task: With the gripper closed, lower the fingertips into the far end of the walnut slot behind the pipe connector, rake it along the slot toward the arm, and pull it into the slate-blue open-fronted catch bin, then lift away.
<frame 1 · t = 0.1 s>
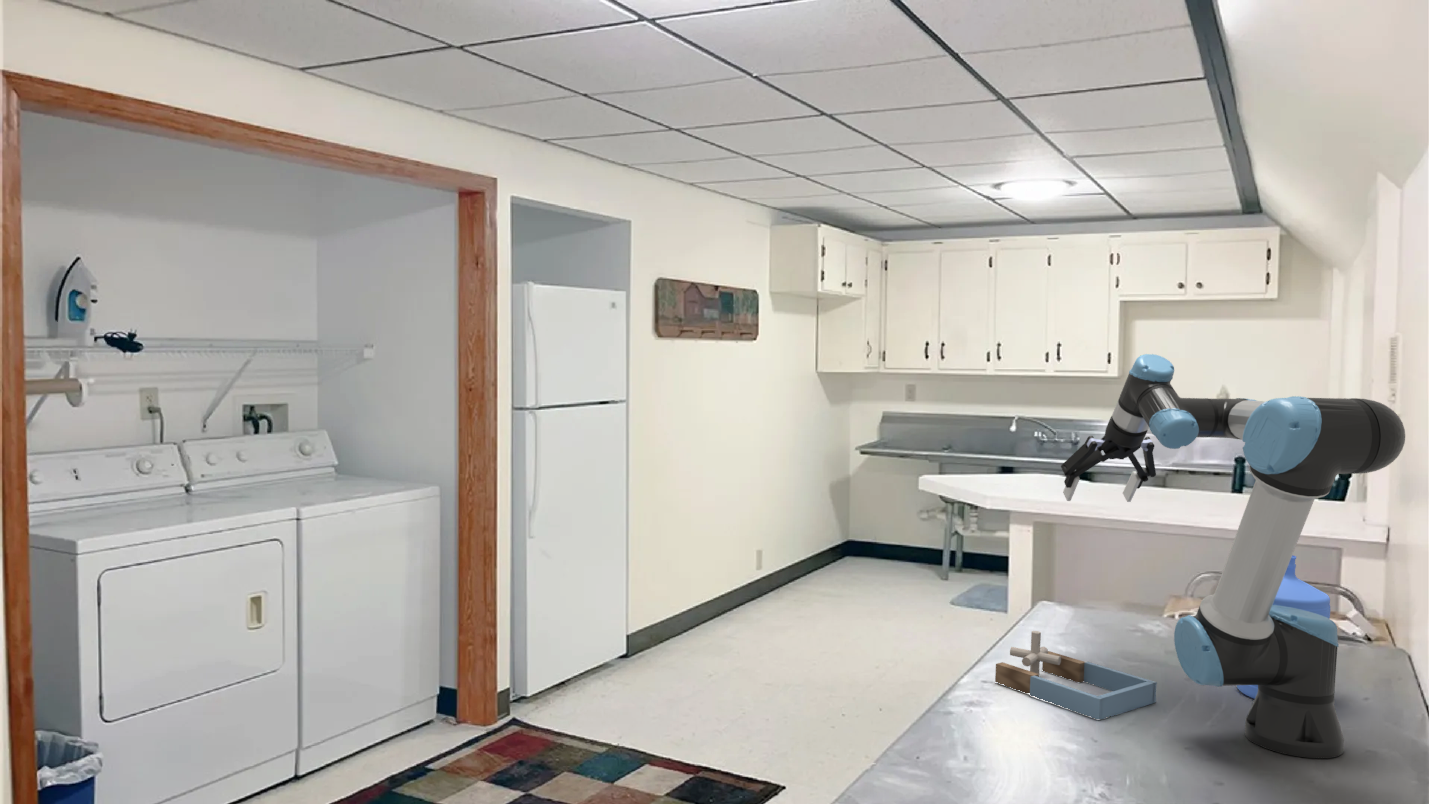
hand: (1096, 497, 225), 36 cm above the table, tool tilted 35°, fingers open, 13 cm apart
pipe connector: (1034, 681, 212), on the table
water jug: (1279, 696, 207), on the table
catch bin: (1089, 698, 202), on the table
slot rails: (1040, 682, 211), on the table
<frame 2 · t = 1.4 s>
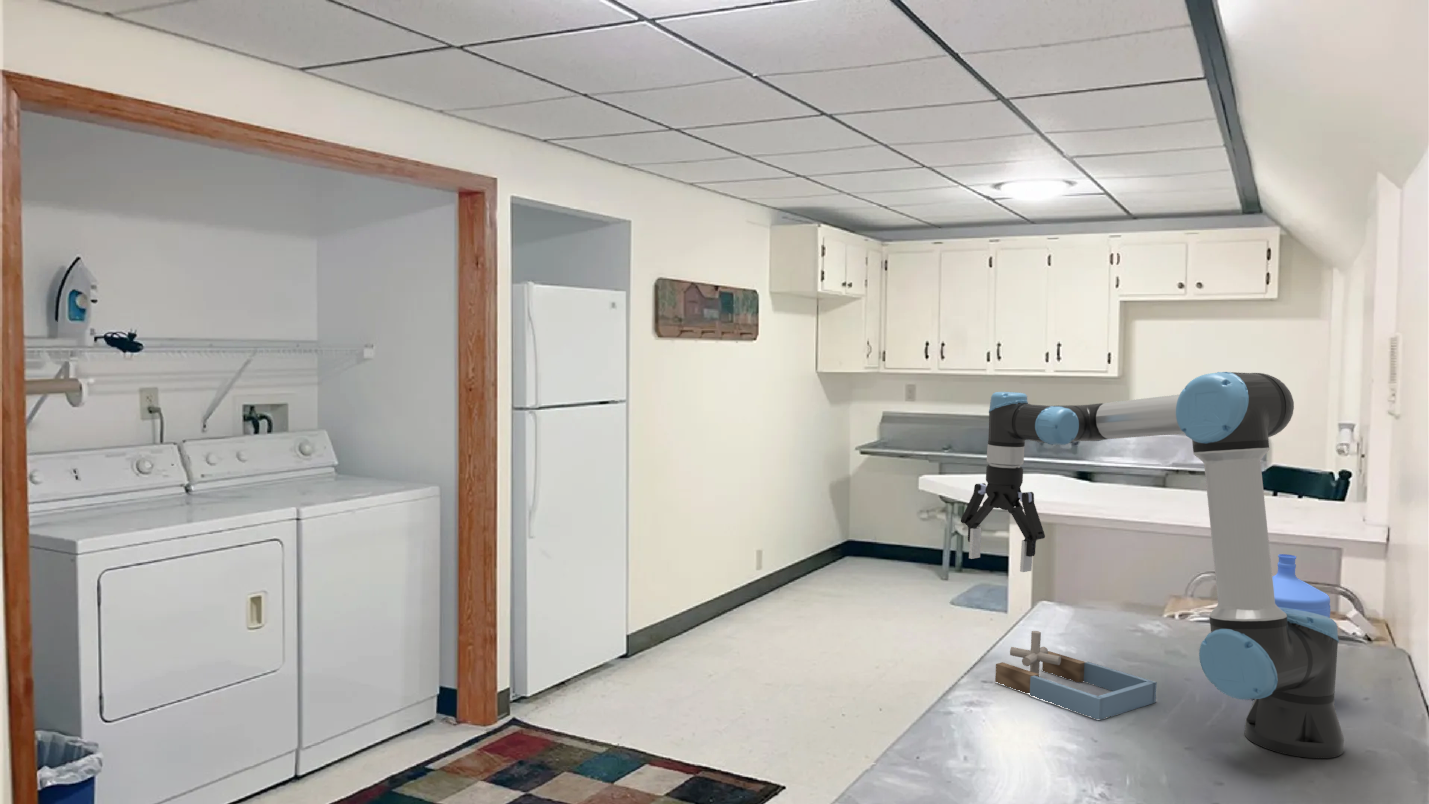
hand: (999, 564, 221), 22 cm above the table, tool pointing down, fingers open, 13 cm apart
nothing on the table moved.
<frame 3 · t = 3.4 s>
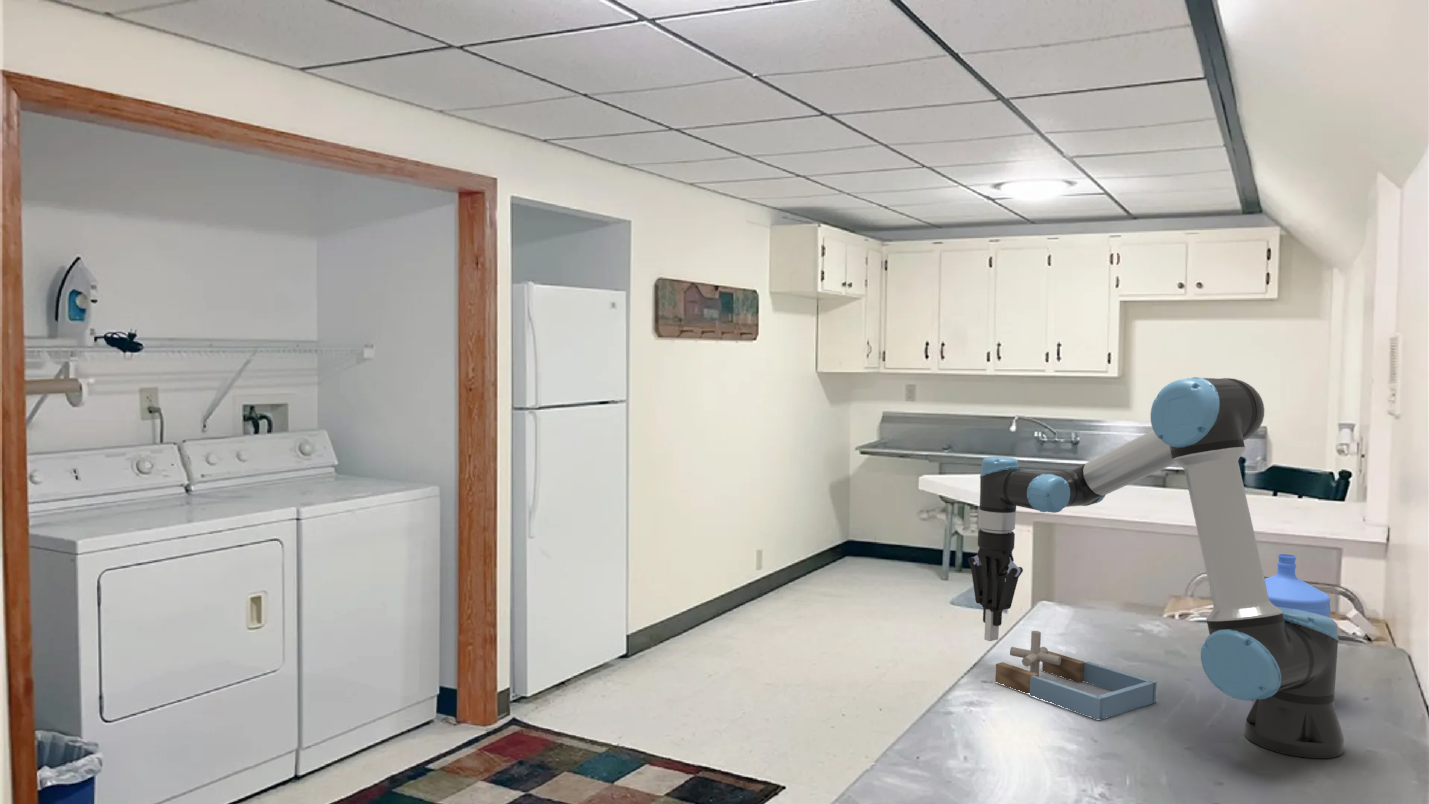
hand: (991, 639, 221), 6 cm above the table, tool pointing down, fingers closed
nothing on the table moved.
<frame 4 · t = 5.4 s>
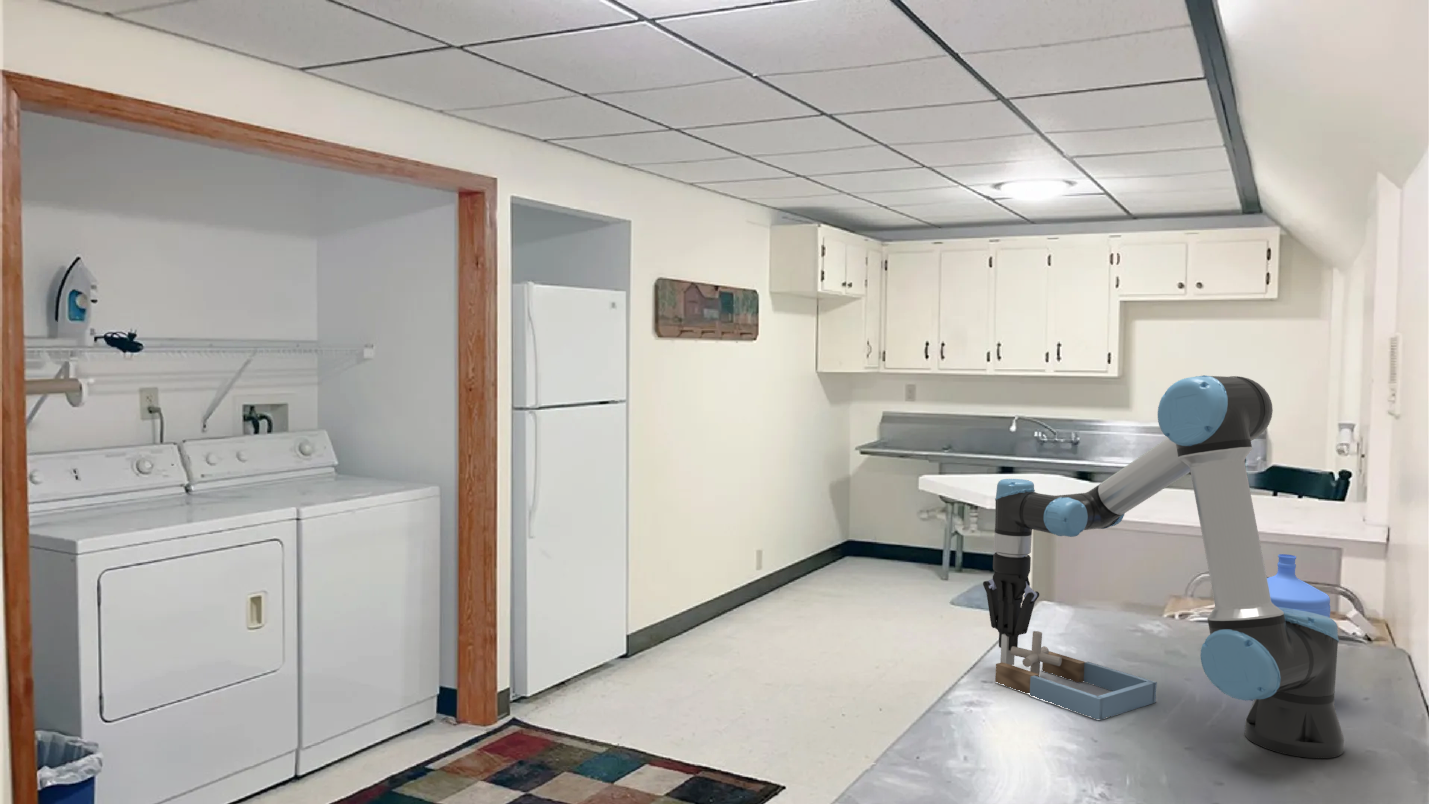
hand: (1007, 664, 218), 1 cm above the table, tool pointing down, fingers closed
pipe connector: (1034, 681, 212), on the table, touching gripper
everything else where it was.
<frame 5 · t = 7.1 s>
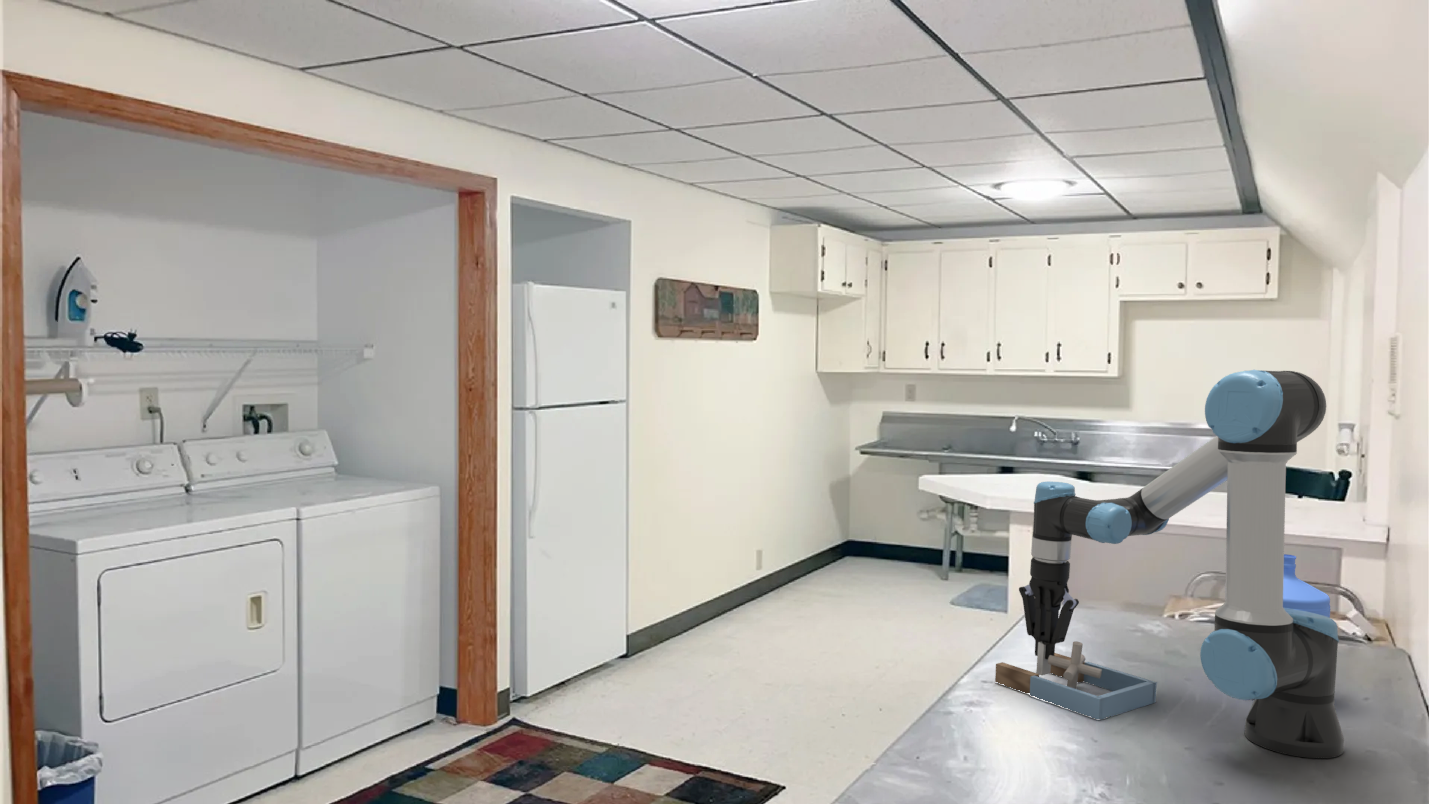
hand: (1043, 673, 211), 2 cm above the table, tool pointing down, fingers closed
pipe connector: (1071, 691, 206), on the table, touching gripper
everything else where it was.
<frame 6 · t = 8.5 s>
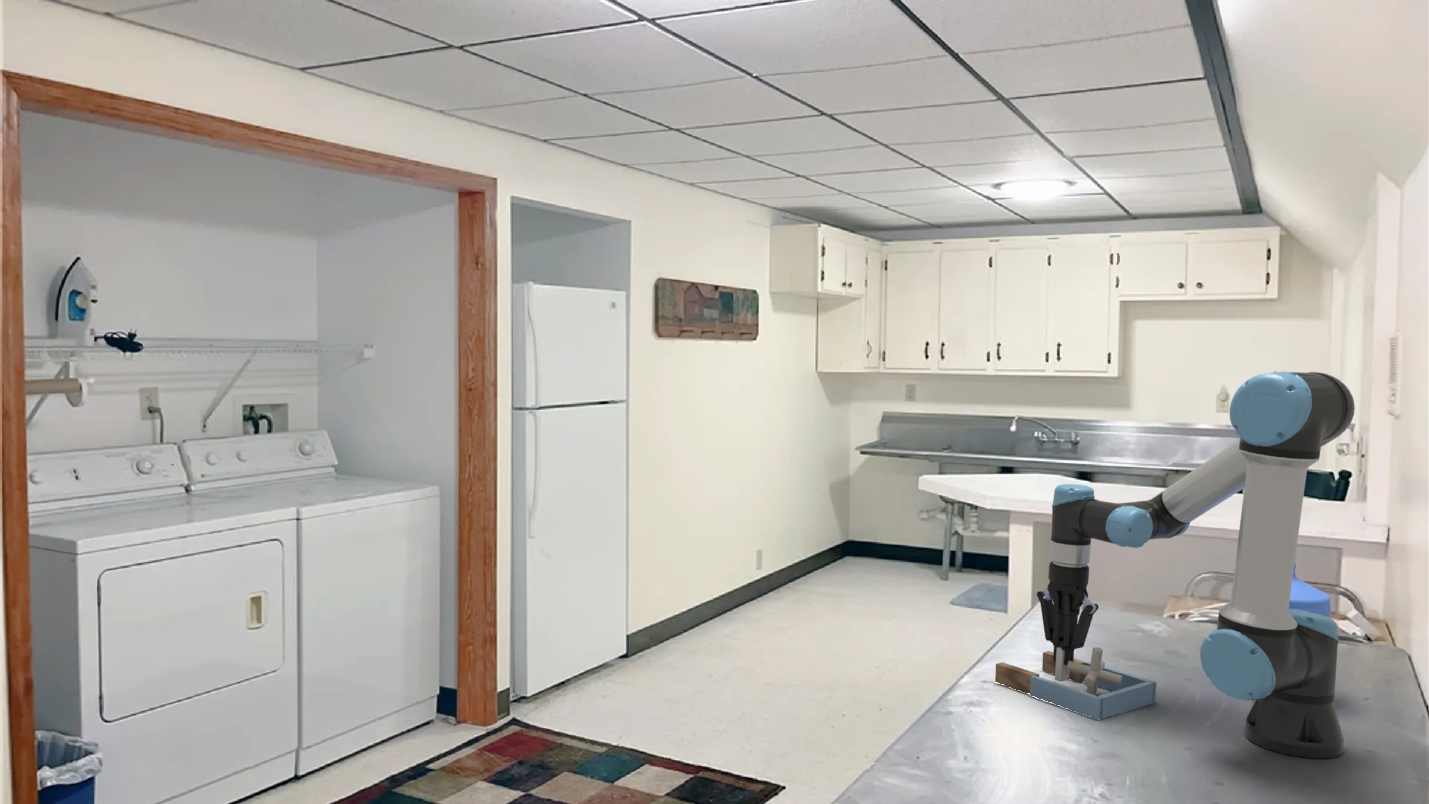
hand: (1061, 679, 207), 2 cm above the table, tool pointing down, fingers closed
pipe connector: (1090, 697, 203), on the table, touching gripper
everything else where it was.
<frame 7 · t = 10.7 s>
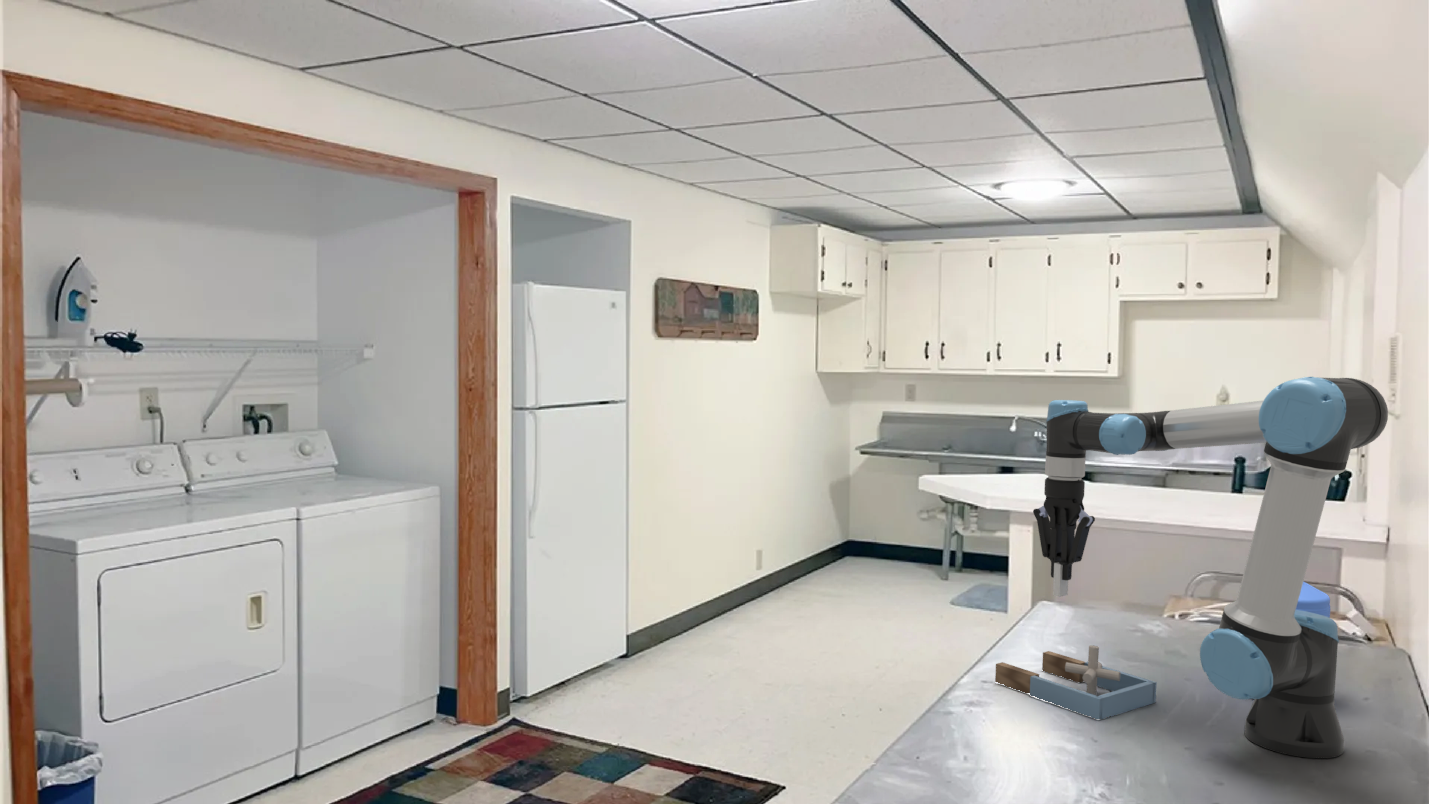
hand: (1060, 595, 208), 19 cm above the table, tool pointing down, fingers closed
pipe connector: (1091, 698, 203), on the table
everything else where it was.
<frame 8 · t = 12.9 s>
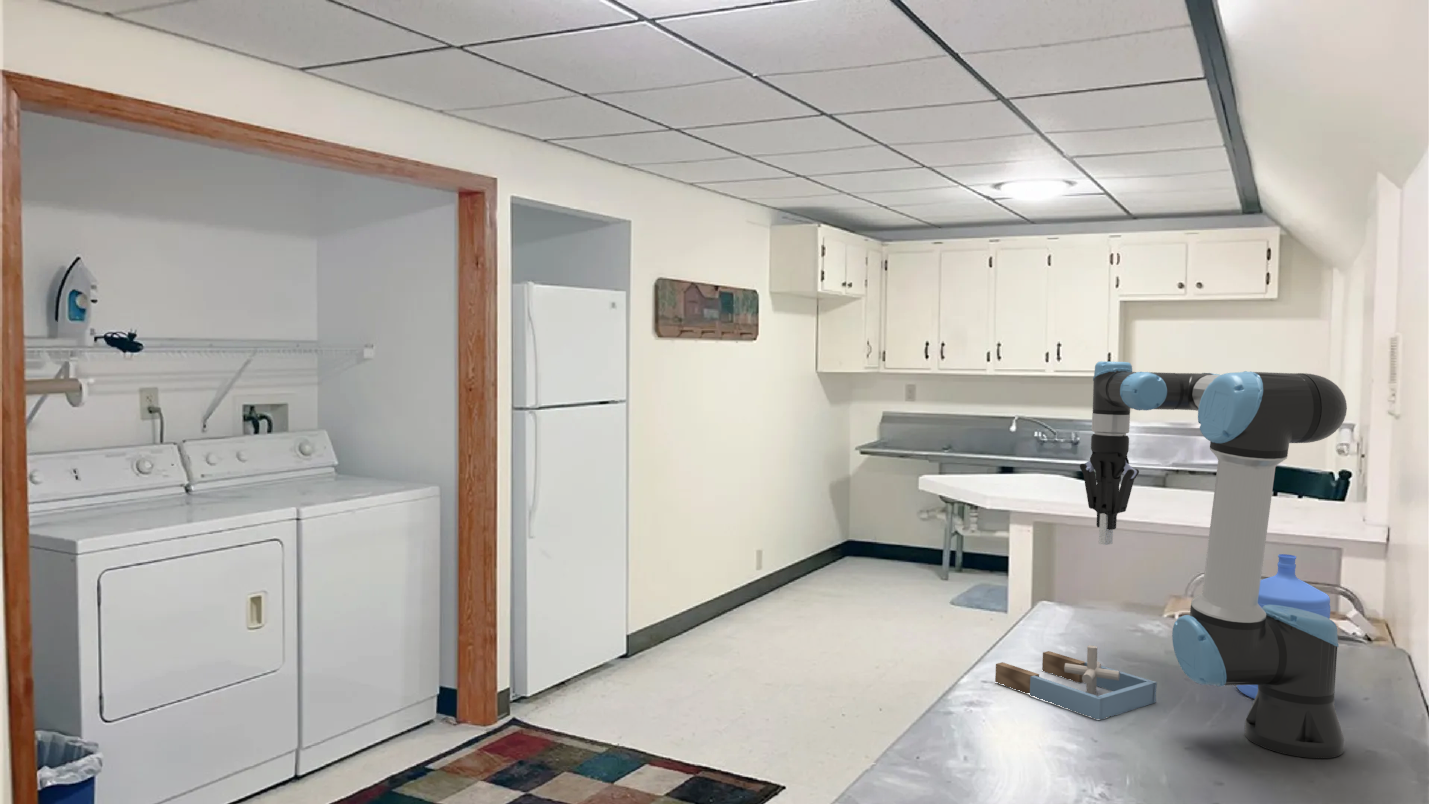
hand: (1105, 543, 222), 26 cm above the table, tool pointing down, fingers closed
nothing on the table moved.
at the end: pipe connector inside the target area on the catch bin (1.2 cm from its centre), point 0.0 cm above the catch bin's base; pipe connector moved 12.7 cm from its start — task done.
